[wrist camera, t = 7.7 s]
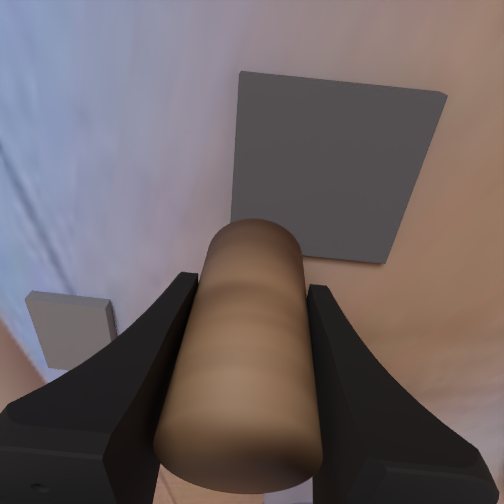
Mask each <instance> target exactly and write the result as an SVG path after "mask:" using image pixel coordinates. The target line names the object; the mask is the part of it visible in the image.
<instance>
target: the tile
mask: <svg viewBox="0 0 504 504" xmlns="http://www.w3.org/2000/svg"><path fill="white" fill-rule="evenodd" d="M25 302H26V305H27V308H28V310H29V313H30V316H31V319H32V322H33V325H34V328H35V331H36V333H37V336H38V339H39V342H40V345H41V348H42V351H43V354H44V356H45V359H46V362H47V365H48V368H54V369H62V370H72V369H73V368H75V367H77V366H78V365H80V364H81V363H83V362H84V361H86V360H87V359H89V358H90V357H92V356H93V355H94V354H96V353H97V352H98V351H100V350H101V349H103V348H104V347H105V346H107V345H108V344H109V343H111V342H112V341H113V340H114V339H116V338H117V336H116V330H115V325H114V319H113V313H112V307H111V301H110V300H109V299H100V298H92V297H83V296H74V295H65V294H57V293H48V292H39V291H31V292H30V294H29V295H28V296H27V297H26V298H25Z"/></svg>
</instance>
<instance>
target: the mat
mask: <svg viewBox="0 0 504 504" xmlns="http://www.w3.org/2000/svg"><path fill="white" fill-rule="evenodd" d="M447 97H448V96H447V95H445V94H443V93H441V92H437V91H428V90H418V89H409V88H399V87H389V86H380V85H370V84H361V83H351V82H341V81H332V80H322V79H313V78H303V77H293V76H284V75H274V74H265V73H255V72H245V71H241V72H240V74H239V87H238V104H237V121H236V138H235V154H234V171H233V188H232V205H231V222H230V223H233V222H235V221H238V220H243V219H252V218H253V219H264V220H268V221H272V222H274V223H277V224H279V225H281V226H282V227H284V228H285V229H287V230H288V231H289V232H290V233H291V234H292V235H293V236H294V237H295V239H296V240H297V242H298V243H299V245H300V248H301V252H302V255H305V256H314V257H324V258H334V259H343V260H353V261H363V262H372V263H382V264H385V263H386V261H387V258H388V255H389V253H390V250H391V247H392V245H393V242H394V239H395V237H396V234H397V231H398V228H399V226H400V223H401V220H402V218H403V215H404V212H405V210H406V207H407V204H408V202H409V199H410V196H411V194H412V191H413V188H414V185H415V183H416V180H417V177H418V175H419V172H420V169H421V167H422V164H423V161H424V159H425V156H426V153H427V151H428V148H429V145H430V142H431V140H432V137H433V134H434V132H435V129H436V126H437V124H438V121H439V118H440V116H441V113H442V110H443V108H444V105H445V102H446V99H447Z"/></svg>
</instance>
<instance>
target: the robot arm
mask: <svg viewBox="0 0 504 504" xmlns="http://www.w3.org/2000/svg"><path fill="white" fill-rule="evenodd" d="M197 287H198V273H187V272H181V273H179V274H178V275H177V277H176V278H175V279H174V280H173V282H172V283H171V284H170V285H169V287H168V288H167V289H166V290H165V291H164V292H163V293H162V295H161V296H160V297H159V298H158V299H157V300H156V301H155V302H154V303H153V304H152V305H151V306H150V307H149V308H148V309H147V311H146V312H144V313H143V314H142V315H141V316H140V317H139V318H138V319H137V320H136V321H135V322H134V323H133V324H132V325H131V326H130V327H129V328H127V329H126V330H125V331H124V332H123V333H122V334H120V335H119V336H118V337H117V338H116V339H114V340H113V341H112V342H111V343H109V344H108V345H107V346H105V347H104V348H103V349H101V350H100V351H98V352H97V353H96V354H94V355H93V356H92V357H90V358H89V359H87V360H86V361H84V362H83V363H81V364H80V365H78V366H77V367H75V368H73V369H72V370H70V371H68V372H67V373H65V374H64V375H62V376H60V377H59V378H57V379H55V380H53V381H52V382H50V383H48V384H46V385H44V386H43V387H41V388H39V389H37V390H35V391H33V392H31V393H29V394H27V395H25V396H23V397H21V398H19V399H17V400H15V401H13V402H11V403H9V404H8V405H7V406H6V408H5V409H4V410H3V411H2V412H1V413H0V504H153V498H154V493H155V488H156V483H157V478H158V473H159V468H160V461H159V460H158V459H157V457H156V455H155V453H154V449H153V441H154V437H155V433H156V430H157V426H158V423H159V419H160V416H161V412H162V409H163V405H164V402H165V398H166V395H167V391H168V388H169V384H170V381H171V377H172V374H173V370H174V367H175V364H176V360H177V357H178V353H179V350H180V346H181V343H182V339H183V336H184V332H185V329H186V325H187V322H188V318H189V315H190V311H191V308H192V304H193V301H194V297H195V294H196V290H197ZM307 307H308V317H309V326H310V336H311V346H312V355H313V365H314V375H315V384H316V394H317V404H318V413H319V423H320V433H321V442H322V452H323V461H322V464H321V467H320V468H319V470H318V471H317V473H316V474H315V475H314V476H313V477H311V478H310V479H309V480H307V481H306V482H304V483H302V484H300V485H298V486H295V487H293V488H290V489H286V490H282V491H278V492H272V493H264V500H263V504H496V503H497V502H498V500H499V491H498V489H497V487H496V484H495V482H494V480H493V478H492V475H491V473H490V471H489V469H488V467H487V465H486V463H485V461H484V460H483V458H482V456H481V454H480V452H479V450H478V449H477V448H476V447H474V446H473V445H472V444H470V443H469V442H468V441H466V440H465V439H464V438H462V437H461V436H460V435H458V434H457V433H456V432H454V431H453V430H452V429H450V428H449V427H448V426H446V425H445V424H444V423H443V422H441V421H440V420H439V419H438V418H437V417H435V416H434V415H433V414H432V413H431V412H429V411H428V410H427V409H426V408H425V407H423V406H422V405H421V404H420V403H419V402H418V401H417V400H416V399H415V398H414V397H413V396H411V395H410V394H409V393H408V392H407V391H406V390H405V389H404V388H403V387H402V386H401V385H400V384H399V383H398V382H397V381H396V380H395V379H394V378H393V377H392V376H391V375H390V374H389V373H388V372H387V370H386V369H385V368H384V367H383V366H382V365H381V364H380V363H379V361H378V360H377V359H376V358H375V357H374V355H373V354H372V353H371V352H370V350H369V349H368V348H367V346H366V345H365V344H364V343H363V341H362V340H361V339H360V337H359V336H358V334H357V333H356V332H355V330H354V329H353V327H352V326H351V324H350V323H349V321H348V320H347V318H346V317H345V315H344V313H343V312H342V310H341V309H340V307H339V305H338V304H337V302H336V300H335V298H334V297H333V295H332V293H331V291H330V290H329V288H328V287H327V286H323V285H313V284H310V286H309V290H308V295H307Z"/></svg>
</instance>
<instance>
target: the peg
mask: <svg viewBox="0 0 504 504" xmlns="http://www.w3.org/2000/svg"><path fill="white" fill-rule="evenodd" d="M153 449H154V453H155V455H156V457H157V459H158V460H159V461H160V463H161V464H162V465H163V466H164V467H165V468H166V469H167V470H169V471H170V472H171V473H173V474H174V475H176V476H177V477H179V478H181V479H183V480H185V481H187V482H189V483H192V484H194V485H197V486H200V487H203V488H207V489H211V490H215V491H220V492H227V493H236V494H264V493H272V492H278V491H282V490H286V489H290V488H293V487H295V486H298V485H300V484H302V483H304V482H306V481H307V480H309V479H310V478H311V477H313V476H314V475H315V474H316V473H317V471H318V470H319V468H320V467H321V464H322V461H323V452H322V442H321V433H320V423H319V413H318V404H317V394H316V384H315V375H314V365H313V355H312V346H311V336H310V326H309V317H308V307H307V297H306V288H305V278H304V268H303V259H302V252H301V248H300V245H299V243H298V242H297V240H296V239H295V237H294V236H293V235H292V234H291V233H290V232H289V231H288V230H287V229H285V228H284V227H282V226H281V225H279V224H277V223H274V222H272V221H268V220H264V219H253V218H252V219H243V220H238V221H235V222H233V223H230V224H228V225H227V226H225V227H223V228H222V229H221V230H220V231H218V233H217V234H216V235H215V236H214V237H213V239H212V241H211V243H210V245H209V249H208V252H207V256H206V259H205V262H204V266H203V269H202V273H201V276H200V280H199V283H198V287H197V290H196V294H195V297H194V301H193V304H192V308H191V311H190V315H189V318H188V322H187V325H186V329H185V332H184V336H183V339H182V343H181V346H180V350H179V353H178V357H177V360H176V364H175V367H174V370H173V374H172V377H171V381H170V384H169V388H168V391H167V395H166V398H165V402H164V405H163V409H162V412H161V416H160V419H159V423H158V426H157V430H156V433H155V437H154V441H153Z"/></svg>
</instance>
